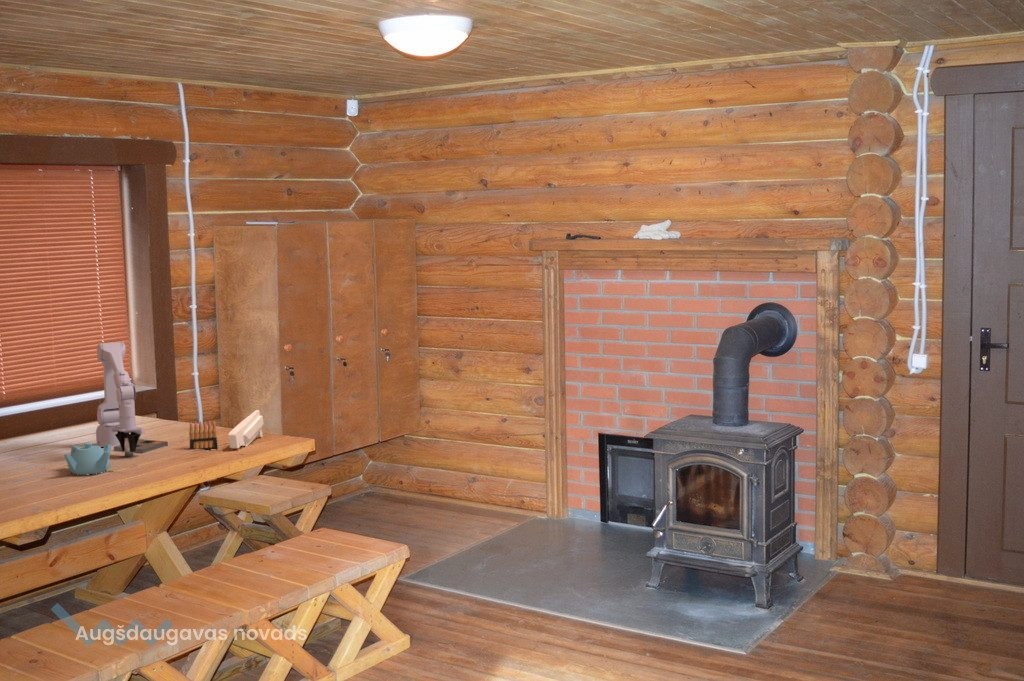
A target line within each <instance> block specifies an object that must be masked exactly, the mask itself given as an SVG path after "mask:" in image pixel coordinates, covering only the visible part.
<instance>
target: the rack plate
mask: <svg viewBox="0 0 1024 681" xmlns="http://www.w3.org/2000/svg"><path fill="white" fill-rule="evenodd" d="M168 446H169V442H168V441H166V440H165V441H164V440H154V439H142V438H141V439H140V438H139V439H138V442H137V446H136V450H135V451H134V452H133V453H137V454H145V453H149V452H151V451H154V450H157V449H161V448H163V447H168ZM113 451H114V452H115V451H116V452H123V453H125V451H122V448H121V445H116V446H113Z"/></svg>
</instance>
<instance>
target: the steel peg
mask: <svg viewBox="0 0 1024 681" xmlns="http://www.w3.org/2000/svg"><path fill="white" fill-rule="evenodd" d="M124 450H125V452H124V455H125V456H133V455H135V454H134V453H135V452H130V445H129V440H128V437H124Z"/></svg>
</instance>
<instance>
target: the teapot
mask: <svg viewBox="0 0 1024 681" xmlns="http://www.w3.org/2000/svg"><path fill="white" fill-rule="evenodd" d="M83 445H84V446H80V445H77V444H75V445H72V446H71V448H70V449H71V450H70V453H64V454H63V456H64V458H65V461H66V464H67V466H68V470H69V471H70V473H72V474H73V475H75V474H78V475H77V476H88V475H87V474H95V475H97V474H96V473H100V474H102V473H101V472H103V473H105V472H107V470H108V469H109V467H110V466H111V463H110V457H111V456H110V455H111V449H112V446H111V444H106V446H105V448H101V447H100V446H97V445H93V442H85V443H84V444H83ZM104 471H105V472H104Z"/></svg>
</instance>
